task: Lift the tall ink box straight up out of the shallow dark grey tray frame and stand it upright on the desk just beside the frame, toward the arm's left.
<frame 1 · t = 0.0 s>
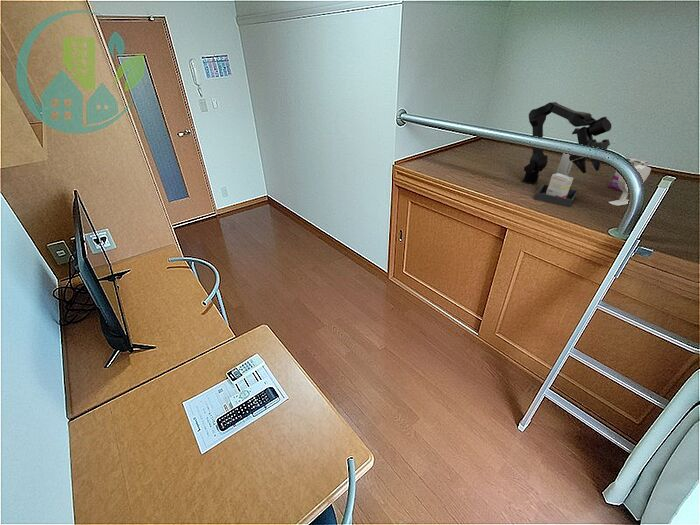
hand: (591, 171, 155), 15 cm above the table, tool tilted 35°, fingers open, 9 cm apart
ink box: (554, 198, 167), resting in dark grey tray frame
dark grey tray frame: (555, 198, 167), on the table
travel mug: (560, 178, 192), on the table
heart sculpture: (620, 202, 162), on the table
candy bar box: (621, 190, 176), on the table
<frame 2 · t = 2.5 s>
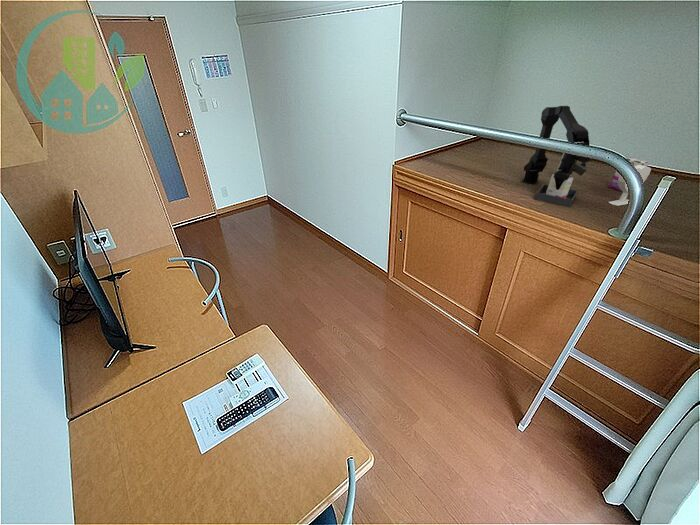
hand: (558, 187, 164), 6 cm above the table, tool pointing down, fingers closed on ink box, 6 cm apart
ink box: (554, 198, 167), resting in dark grey tray frame, touching gripper
everything else where it was.
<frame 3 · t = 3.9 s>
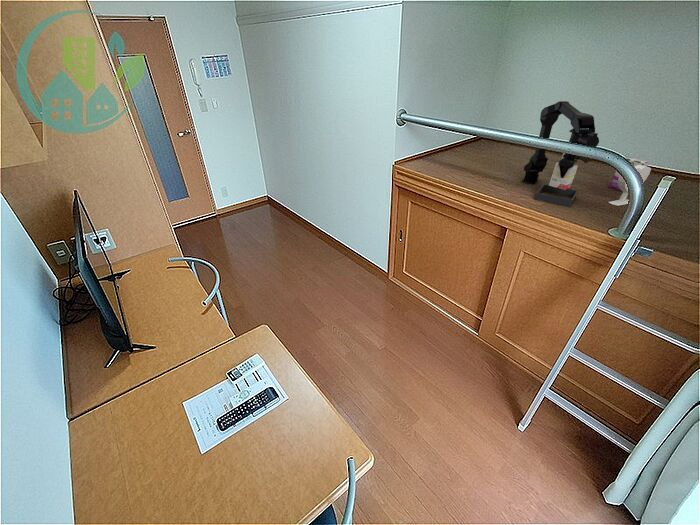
hand: (563, 176, 161), 11 cm above the table, tool pointing down, fingers closed on ink box, 6 cm apart
ink box: (559, 187, 164), point 6 cm above the table, touching gripper
everything else where it was.
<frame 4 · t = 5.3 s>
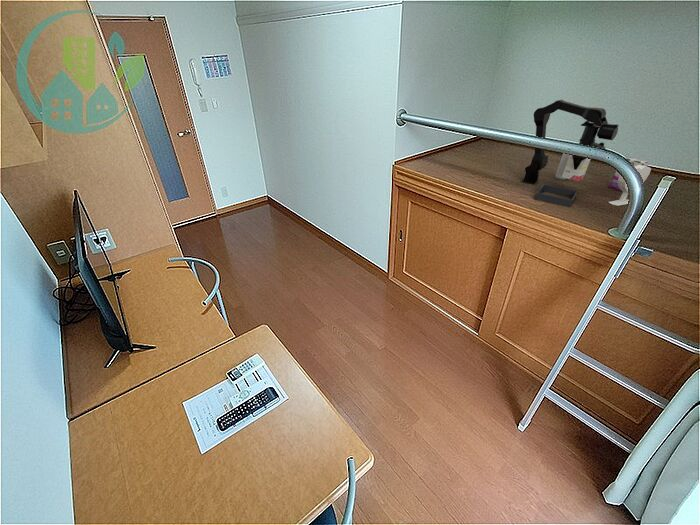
hand: (576, 168, 167), 13 cm above the table, tool pointing down, fingers closed on ink box, 6 cm apart
ink box: (572, 178, 170), point 7 cm above the table, touching gripper
everything else where it was.
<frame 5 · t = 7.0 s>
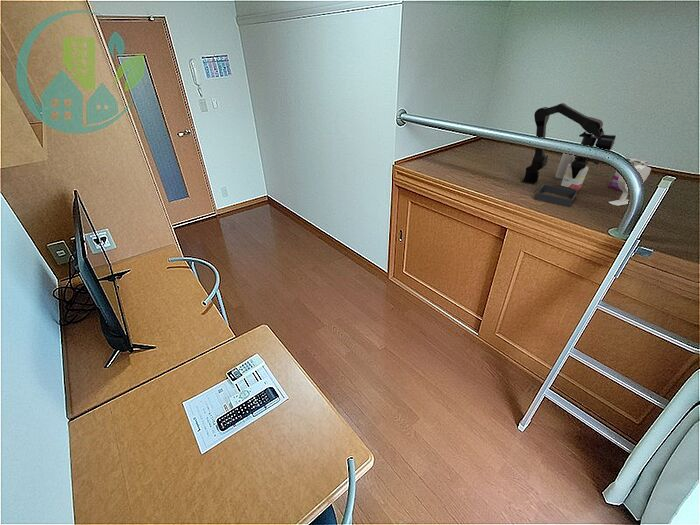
hand: (574, 176, 171), 8 cm above the table, tool pointing down, fingers closed on ink box, 6 cm apart
ink box: (570, 187, 174), point 2 cm above the table, touching gripper
everything else where it was.
when the fingers open (5 cm above the table, at t = 8.2 s): ink box stays where it is, on the table.
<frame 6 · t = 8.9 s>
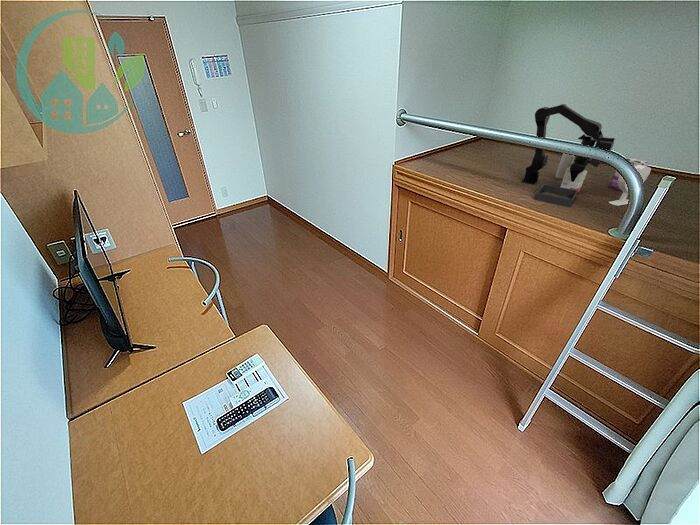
hand: (574, 179, 172), 6 cm above the table, tool pointing down, fingers open, 9 cm apart
ink box: (569, 190, 176), on the table
everything else where it was.
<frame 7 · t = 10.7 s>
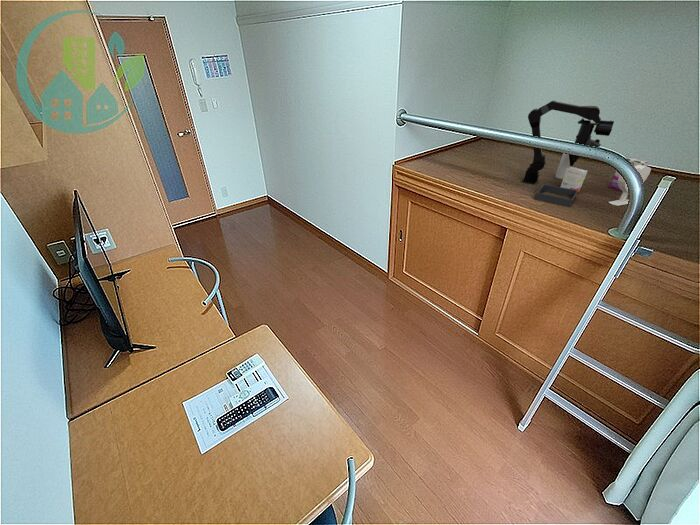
hand: (572, 164, 173), 13 cm above the table, tool pointing down, fingers open, 9 cm apart
nothing on the table moved.
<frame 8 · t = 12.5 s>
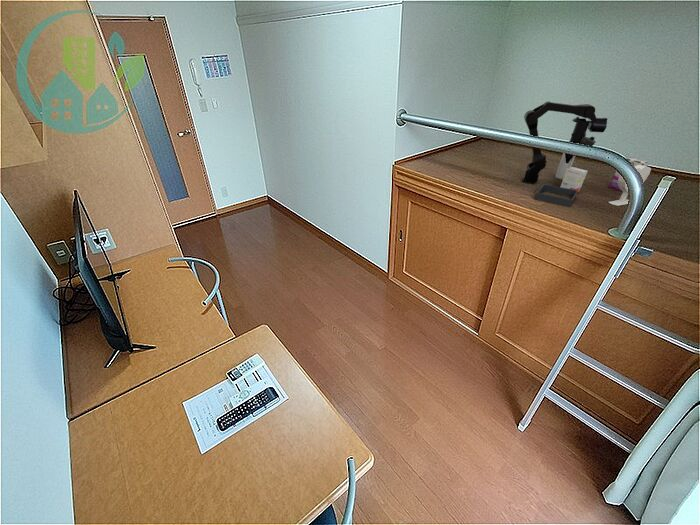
hand: (568, 161, 176), 13 cm above the table, tool pointing down, fingers open, 9 cm apart
travel mug: (560, 178, 192), on the table, touching gripper
everything else where it was.
at the end: ink box inside the target area (0.2 cm from its centre), on the table; ink box tilted 0°; the gripper is holding nothing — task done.
